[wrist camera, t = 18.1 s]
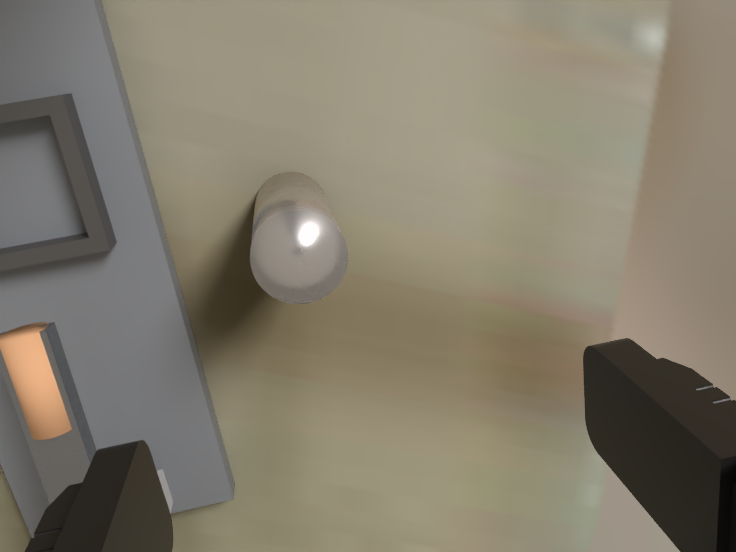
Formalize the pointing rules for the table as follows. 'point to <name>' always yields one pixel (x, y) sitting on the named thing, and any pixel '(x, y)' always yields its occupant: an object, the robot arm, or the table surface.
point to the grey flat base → (94, 257)
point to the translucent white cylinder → (296, 240)
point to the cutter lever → (47, 405)
